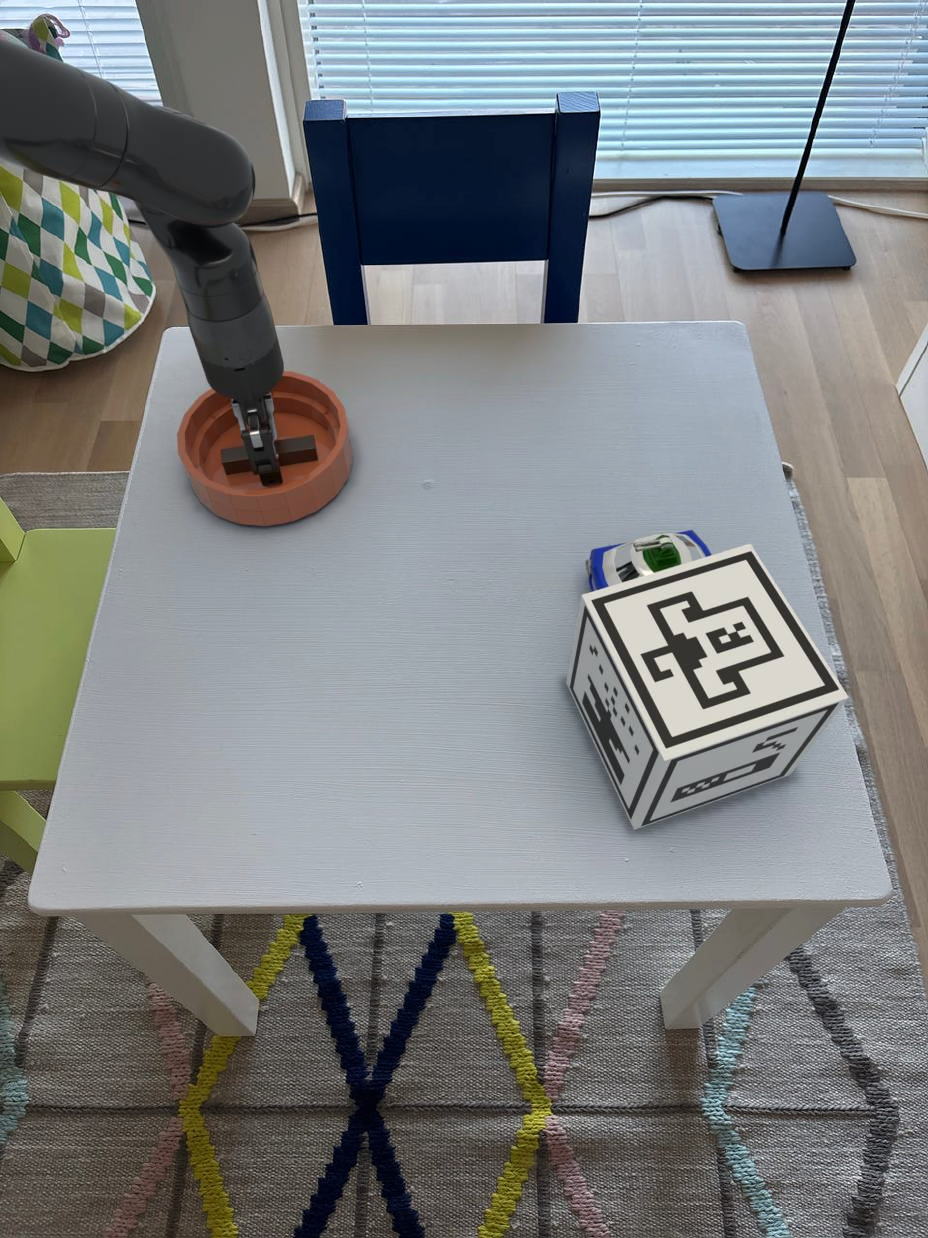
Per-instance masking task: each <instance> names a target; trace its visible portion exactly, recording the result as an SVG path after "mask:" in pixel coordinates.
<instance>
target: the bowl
mask: <svg viewBox="0 0 928 1238" xmlns="http://www.w3.org/2000/svg"><path fill="white" fill-rule="evenodd" d="M272 394H273V396H272V397H273V402H274V411H273V414H274V419H275V422H276V428H277V433H278V434H277V439H276V440H283V439H289V438H295V437H302V436H308V435H314V439H315V444H316V449H317V455H318V460H317V461H310V462H304V463H298V464H292V465H285V466H280V470H281V473H282V478H283V483H282V484H280V485H274V486H268V487H265V486H263V485H262V483H261V480H260V476H259V475H254V473H253V472H252V471H248V472H242V473H236V474H230V475H226V473H225V470H224V468H223V465H222V459H221V449H226V448H232V447H239V446H245V445H244V442H243V439H241V430H240V425H239V421H238V418H237V417H236V416H235V415H234V411H233V406H232V399H231V398H228V397H225V396H222V395H220V394H218V393H217V392H216V391H214V390H213V389H212V388H211V387H210V388H209V389H207V390H206V391H205V392H203V393H202V394H201V395H199V396H198V397H197V398H196V399H195V401H194V402H193V403H192V404H191V406H190V407H189V408H188V409H187V411H185V413H184V415H183V417H182V420H181V422H180V424H179V428H178V431H177V432H176V441H177V455H178V457H179V460H180V461H181V464H182V467H183V469H184V472H185V474H186V476H187V478H188V481H189V483H190V485H191V487H192V489H193V491H194V493H195V495H196V497H197V499H198V501H199V502H200V503H201V504H202V505H203V506H205V508H207V509H208V510H209V511H210V512H211V513H213V514H214V515H216V516H217V517H219V518H222V519H225V520H227V521H230V522H232V523H236V524H237V525H245V526H247V525H248V526H257V527H258V526H259V527H270V526H276V525H283V524H286V523H287V524H288V523H292V522H296V521H298V520H299V519H302V518H305V517H306V516H307V517H308V516H309V515H311V514H313V513H316V512H318V511H319V510H321V509H322V508H323V507H324V506H326V505H327V504H329V502H330V501H332V500H333V499H335V497H337V496H338V494H339V493H340V491H341V489H342V488H343V486H344V485H345V484H346V483H347V481H348V479H349V477H350V473H351V469H352V464H353V461H354V453H353V447H352V441H351V436H350V431H349V424H348V420H347V419H348V418H347V413H346V408H345V406H344V404H343V403H342V402H341V400H340V399H339V397H338V396H337V394H336V393H335V392H334V390H332V389H331V388H330V387H328V386H326V384H324V383H322V382H321V381H320V380H318V379H317V378H314V377H311V376H308V375H305V374H302V373H299V372H297V371H292V370H291V371H289V370H284V371H283V375H282V377H281V379H280V381H279V382H278V384H277V385H276V386H275V387H274V388H272ZM246 427H247V429H249V426H248V425H247V424H246ZM276 440H275V441H276Z"/></svg>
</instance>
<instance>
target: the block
mask: <svg viewBox="0 0 928 1238" xmlns="http://www.w3.org/2000/svg"><path fill="white" fill-rule="evenodd" d="M568 664H569V665H568V671H567V675H566V676H567V677H566V682H565V683H566V686H567V688H568V690H569V693H570V695H571V697H572V699H573V701H574V703H575V705H576V708H577V710H578V712H579V714H580V716H581V718H582V721H583V723H584V725H585V727H586V729H587V732H588V733H589V736H590V738H591V740H592V742H593V744H594V746H595V749H596V751H597V753H598V755H599V757H600V760H601V762H602V765H603V766H604V768H605V771H606V774H607V775H608V777H609V779H610V781H611V783H612V786H613V788H614V790H615V791H616V794H617V796H618V799H619V801H620V803H621V805H622V807H623V809H624V812H625V814H626V816H627V818H628V820H629V822H630V825H631V827H632V829H633V831H635V830H639V829H641V828H645V827H647V826H650V825H652V824H656V823H658V822H662V821H664V820H667V819H669V818H672V817H675V816H678V815H681V814H683V813H686V812H690V811H692V810H695V809H698V808H702V807H704V806H707V805H709V804H712V803H715V802H717V801H721V800H723V799H726V798H729V797H732V796H734V795H735V796H736V795H737V794H740V793H742V792H743V793H744V792H745V791H748V790H752V789H754V788H757V787H760V786H763V785H766V784H769V783H771V782H775V781H777V780H779V779H783V778H785V777H788V776H791V774H793V772H794V771H795V769H796V768H797V766H798V765H799V764H800V763H801V761H802V760H803V759H804V757H805V756H806V755H807V753H808V752H809V751H810V749H812V747H813V746H814V744H815V743H816V742H817V740H818V739H819V738H820V736H821V735H822V734H823V732H825V730H826V729H827V727H828V726H829V725H830V723H831V722H832V720H833V719H835V717H836V715H837V714H838V713H839V712H840V711H841V709H842V707H843V706H844V705H845V704H846V702H847V701H848V700H849V699H850V697H849V695H848V694H847V692H846V691H845V688H844V687H843V686H842V684H841V683H840V681H839V680H838V679H837V678H838V677H836V675H835V673H834V672H833V670H832V669H831V667H830V665H829V664H828V662H827V661H826V659H825V658H824V656H823V655H822V653H821V652H820V649H818V647H817V646H816V644H815V642H814V640H813V639H812V638H811V636H810V634H809V633H808V631H807V630H806V628H805V627H804V625H803V623H802V622H801V620H800V618H799V617H798V616H797V614H796V612H795V611H794V610H793V608H792V606H791V604H790V603H789V602H788V600H787V599H786V597H785V595H784V594H783V592H782V591H781V589H780V587H779V586H778V584H777V583H776V581H775V580H774V578H773V577H772V575H771V574H770V572H769V570H768V568H767V567H766V565H765V564H764V562H763V561H762V559H761V558H760V557H759V555H758V553H757V552H756V550H755V549H754V547H753V545H752V544H751V543H747V544H744V545H741V546H738V547H734V548H731V549H728V550H724V551H721V552H718V553H715V554H712V555H711V556H708V557H705V558H701V559H698V560H695V561H691V562H688V563H685V564H682V565H678V566H675V567H672V568H669V569H665V570H662V571H659V572H656V573H652V574H649V575H646V576H642V577H639V578H636V579H633V580H629V581H626V582H623V583H620V584H616V585H613V586H610V587H606V588H603V589H600V590H597V591H593V592H591V591H589V592H587V593H584V594H581V597H580V603H579V608H578V615H577V618H576V626H575V631H574V637H573V643H572V648H571V654H570V660H569V663H568Z"/></svg>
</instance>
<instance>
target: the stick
mask: <svg viewBox="0 0 928 1238" xmlns="http://www.w3.org/2000/svg"><path fill="white" fill-rule="evenodd" d="M274 443H275V448H276V452H277V454H278V456H279V459H278V463H279V466H285V465H292V464H298V463H304V462H310V461H317V460H318V455H317V449H316V444H315V439H314V435H308V436H302V437H295V438H289V439H283V440H276V441H274ZM221 459H222V465H223V468H224V470H225V473H226V475H230V474H236V473H242V472H248V471H252V469H251V464H250V460H249V457H248V454H247V451H246V448H245V446H239V447H232V448H226V449H221Z"/></svg>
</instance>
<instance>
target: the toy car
mask: <svg viewBox="0 0 928 1238" xmlns="http://www.w3.org/2000/svg"><path fill="white" fill-rule="evenodd" d="M711 555H713V554H712V553H711V550H710V549H709V547H708V546H707V544H706V543H705V542H704V541H703V540H702V539H701V538H700V537H699V536H698V534H697V533H696V532H695V531H694V530H693V529H689V530H684V531H679V532H675V533H674V532H662V533H654V534H649V535H645V536H642V537H639V538H635V539H632V540H630V541H627V542H622V543H617V544H611V545H606V546H601V547H596V548H593V549H591V550H590V555H589V559H585V570H586V574H588V585H589V589H590V592H593V591H597V590H600V589H603V588H606V587H610V586H613V585H616V584H620V583H623V582H626V581H629V580H633V579H636V578H639V577H642V576H646V575H649V574H652V573H656V572H659V571H662V570H665V569H669V568H672V567H675V566H678V565H682V564H685V563H688V562H691V561H695V560H698V559H701V558H705V557H708V556H711Z"/></svg>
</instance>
